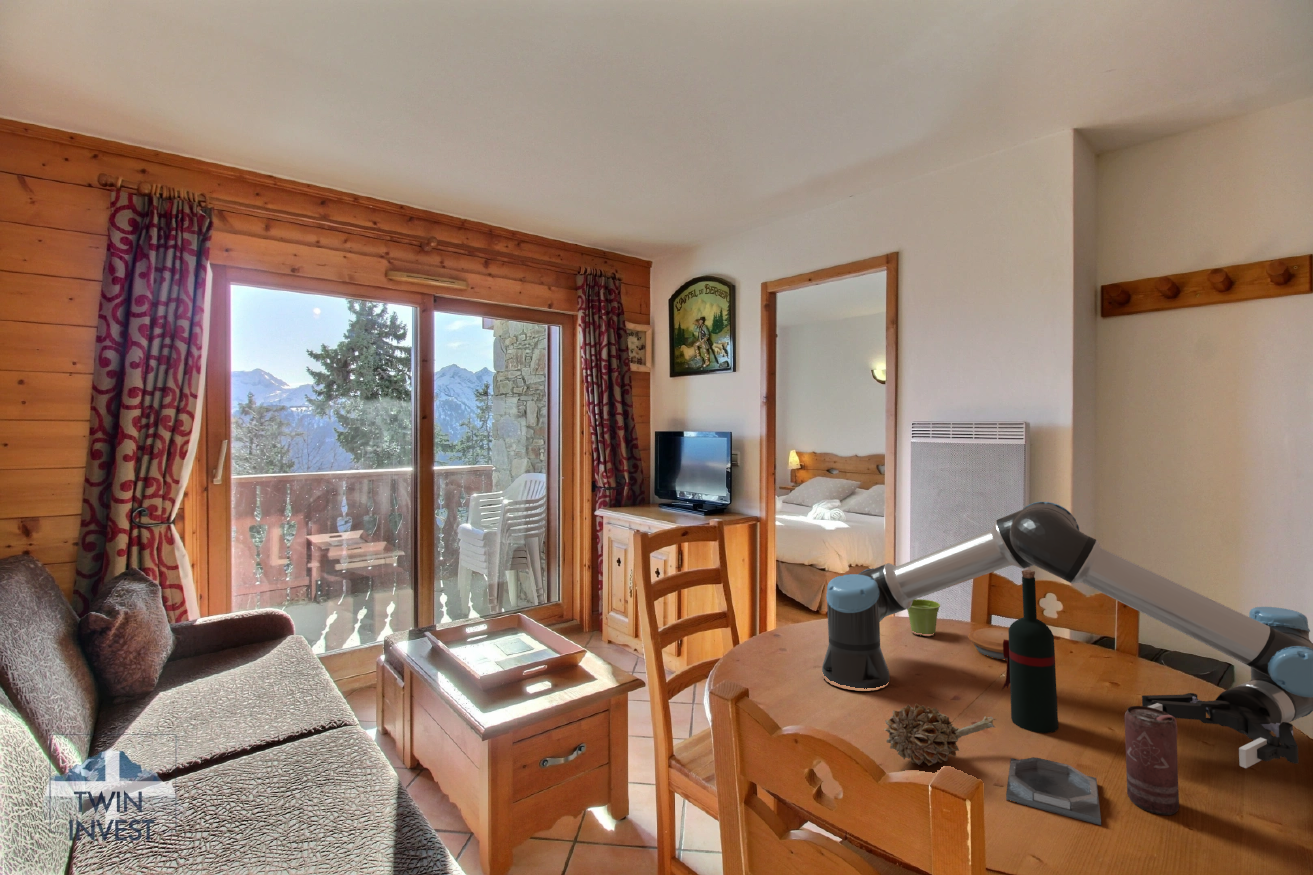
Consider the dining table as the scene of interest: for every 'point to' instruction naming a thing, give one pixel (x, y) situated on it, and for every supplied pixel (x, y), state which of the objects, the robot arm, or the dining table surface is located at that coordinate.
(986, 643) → the pie
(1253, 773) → the dining table surface
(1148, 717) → the can
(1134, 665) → the dining table surface
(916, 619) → the plant pot
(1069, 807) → the cup holder
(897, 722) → the pine cone
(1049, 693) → the wine bottle
